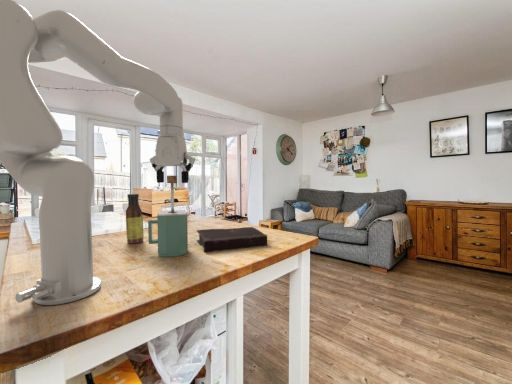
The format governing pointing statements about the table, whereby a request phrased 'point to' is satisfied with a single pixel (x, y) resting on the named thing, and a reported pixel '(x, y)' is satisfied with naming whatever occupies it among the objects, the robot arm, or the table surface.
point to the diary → (231, 238)
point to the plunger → (172, 189)
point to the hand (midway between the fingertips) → (172, 182)
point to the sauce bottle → (134, 220)
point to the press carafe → (170, 233)
